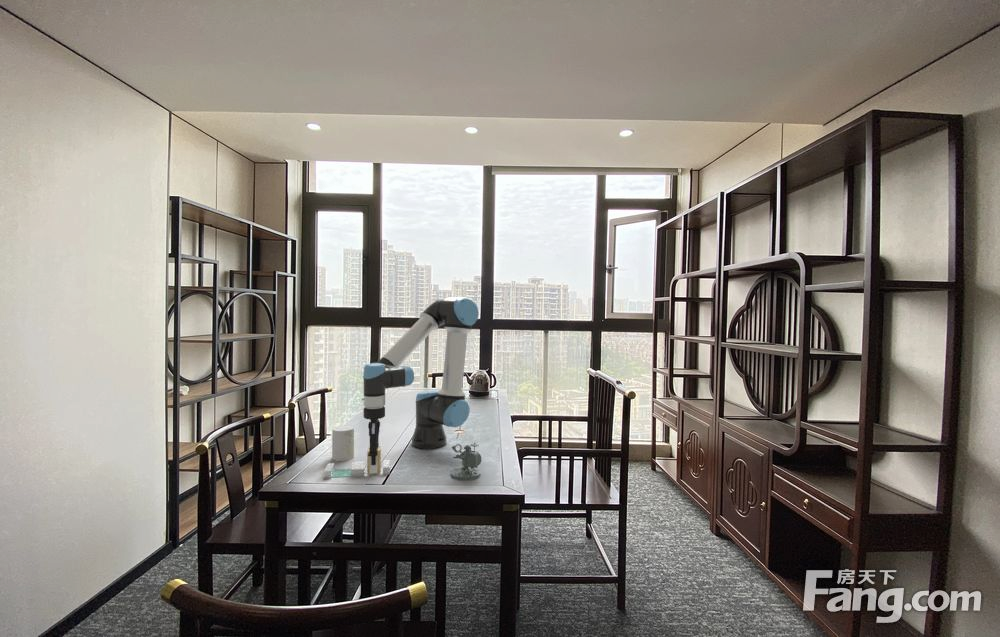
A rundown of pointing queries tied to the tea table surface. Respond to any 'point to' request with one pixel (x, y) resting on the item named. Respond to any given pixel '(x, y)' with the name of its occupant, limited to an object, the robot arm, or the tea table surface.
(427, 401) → the robot arm
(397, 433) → the tea table surface
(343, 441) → the cup
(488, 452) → the tea table surface
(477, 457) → the figurine
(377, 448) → the pale yellow tall block
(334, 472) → the rail
